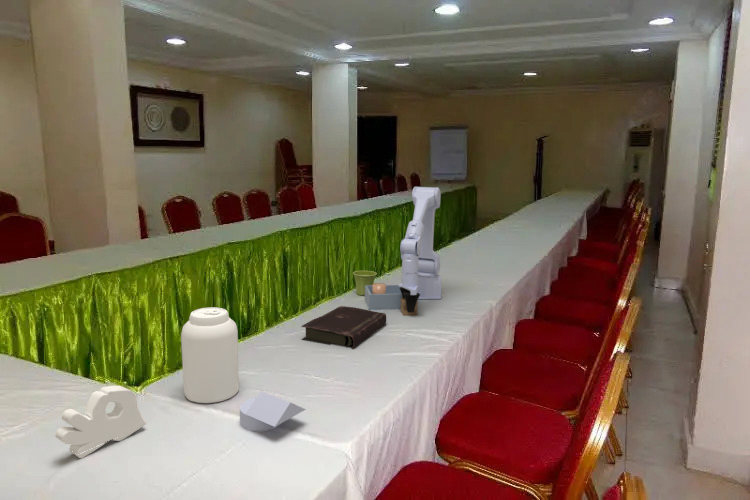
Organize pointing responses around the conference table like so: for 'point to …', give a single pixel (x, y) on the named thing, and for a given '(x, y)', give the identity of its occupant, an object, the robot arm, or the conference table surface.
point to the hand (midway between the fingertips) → (408, 309)
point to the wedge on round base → (266, 412)
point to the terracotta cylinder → (379, 288)
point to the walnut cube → (404, 308)
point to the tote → (383, 298)
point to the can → (210, 356)
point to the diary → (344, 326)
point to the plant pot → (363, 280)
